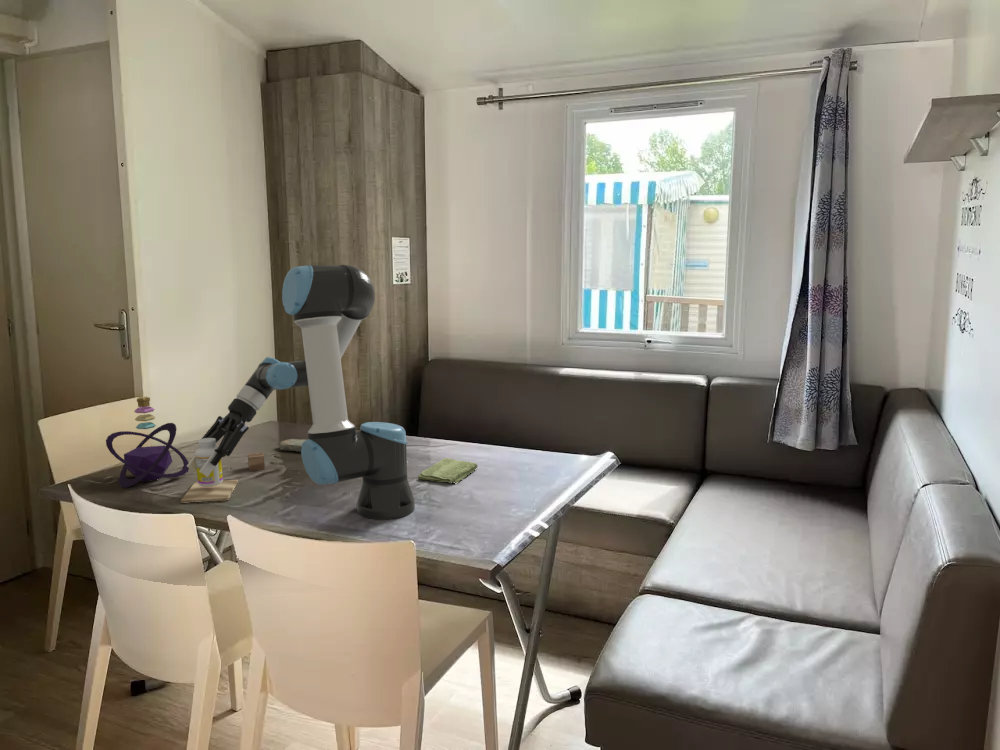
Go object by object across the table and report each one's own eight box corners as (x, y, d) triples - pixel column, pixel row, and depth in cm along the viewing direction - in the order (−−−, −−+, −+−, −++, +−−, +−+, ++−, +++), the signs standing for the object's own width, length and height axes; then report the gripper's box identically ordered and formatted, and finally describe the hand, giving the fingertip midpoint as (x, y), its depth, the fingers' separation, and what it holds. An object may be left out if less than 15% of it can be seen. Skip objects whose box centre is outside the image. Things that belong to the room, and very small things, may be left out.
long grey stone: (288, 448, 260) (274, 457, 251) (286, 434, 259) (272, 443, 250) (381, 448, 252) (370, 458, 243) (379, 434, 251) (368, 443, 241)
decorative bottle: (100, 478, 222) (92, 397, 218) (171, 463, 237) (164, 387, 233) (127, 495, 207) (118, 408, 202) (200, 478, 221) (194, 397, 217)
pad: (227, 501, 202) (227, 497, 202) (181, 503, 200) (180, 500, 200) (238, 482, 217) (238, 479, 217) (195, 485, 215) (195, 481, 215)
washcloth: (415, 481, 219) (415, 471, 219) (444, 465, 235) (444, 456, 234) (454, 487, 214) (454, 476, 213) (481, 470, 230) (481, 460, 229)
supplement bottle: (215, 478, 213) (212, 435, 211) (227, 483, 209) (224, 439, 206) (193, 484, 208) (189, 440, 205) (205, 489, 204) (202, 444, 201)
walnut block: (264, 469, 230) (263, 456, 229) (249, 471, 228) (248, 457, 228) (263, 466, 234) (262, 452, 234) (248, 467, 233) (247, 454, 232)
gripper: (273, 416, 210) (224, 485, 201) (237, 407, 223) (190, 471, 213) (255, 401, 205) (204, 471, 196) (220, 392, 218) (170, 457, 209)
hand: (197, 471), depth 205 cm, fingers closed on supplement bottle, 7 cm apart
